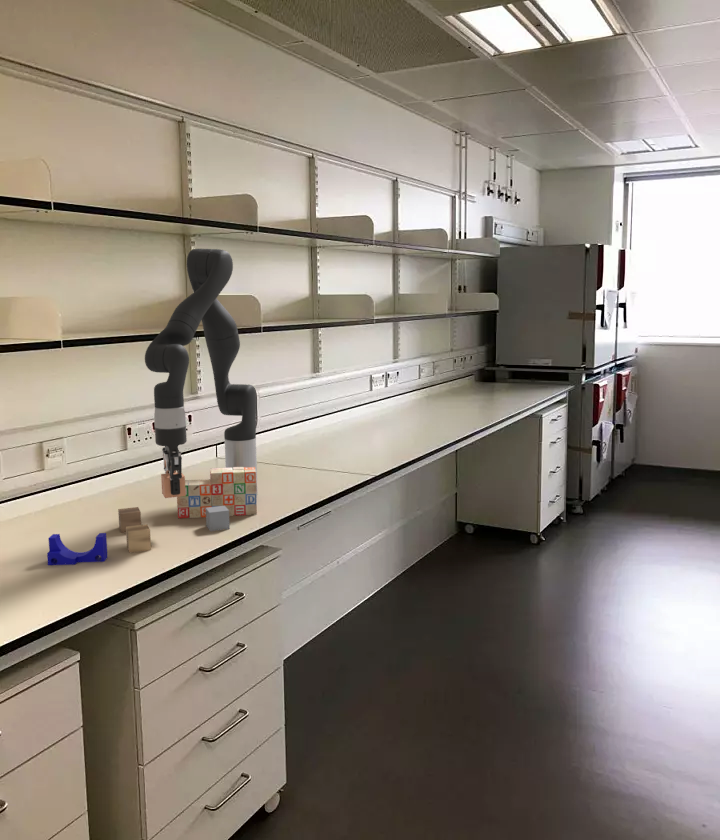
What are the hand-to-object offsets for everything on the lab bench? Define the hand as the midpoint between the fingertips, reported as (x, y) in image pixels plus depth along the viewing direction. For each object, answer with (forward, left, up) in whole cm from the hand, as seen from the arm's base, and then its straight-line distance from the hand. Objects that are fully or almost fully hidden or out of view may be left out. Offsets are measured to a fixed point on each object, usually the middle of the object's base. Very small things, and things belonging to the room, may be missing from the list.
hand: (173, 491), depth 198 cm
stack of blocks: (-14, +14, -11) cm, 23 cm away
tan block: (-9, -10, -11) cm, 17 cm away
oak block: (+8, -10, -11) cm, 17 cm away
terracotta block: (0, 0, -1) cm, 1 cm away
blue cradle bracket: (+12, -24, -11) cm, 29 cm away
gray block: (-1, +11, -11) cm, 16 cm away
